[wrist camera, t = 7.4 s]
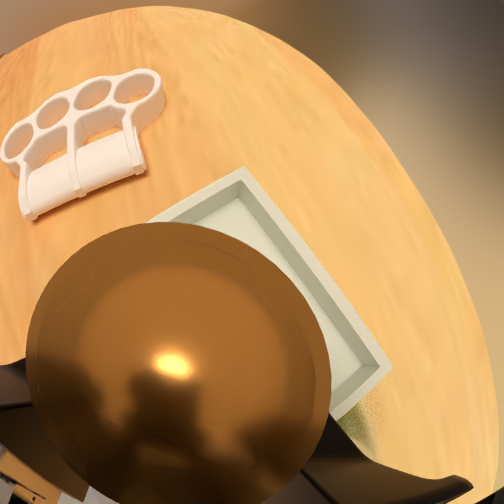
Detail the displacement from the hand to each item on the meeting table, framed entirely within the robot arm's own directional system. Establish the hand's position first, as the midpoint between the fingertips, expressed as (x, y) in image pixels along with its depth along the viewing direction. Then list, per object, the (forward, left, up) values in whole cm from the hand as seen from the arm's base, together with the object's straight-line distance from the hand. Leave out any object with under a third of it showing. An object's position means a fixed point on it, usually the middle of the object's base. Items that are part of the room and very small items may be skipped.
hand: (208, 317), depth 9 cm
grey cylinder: (-1, +1, -7) cm, 7 cm away
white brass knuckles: (+21, +2, -10) cm, 24 cm away
